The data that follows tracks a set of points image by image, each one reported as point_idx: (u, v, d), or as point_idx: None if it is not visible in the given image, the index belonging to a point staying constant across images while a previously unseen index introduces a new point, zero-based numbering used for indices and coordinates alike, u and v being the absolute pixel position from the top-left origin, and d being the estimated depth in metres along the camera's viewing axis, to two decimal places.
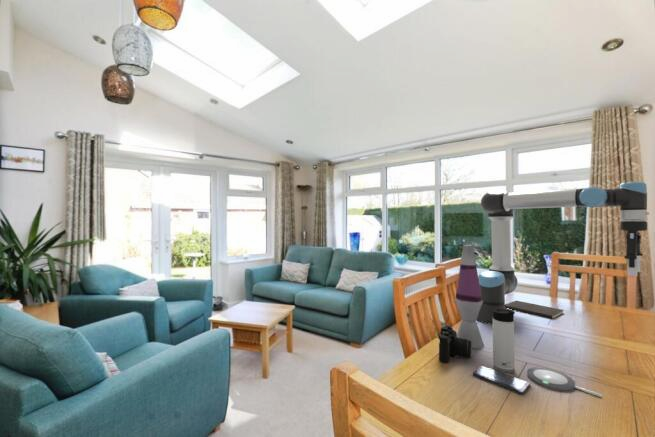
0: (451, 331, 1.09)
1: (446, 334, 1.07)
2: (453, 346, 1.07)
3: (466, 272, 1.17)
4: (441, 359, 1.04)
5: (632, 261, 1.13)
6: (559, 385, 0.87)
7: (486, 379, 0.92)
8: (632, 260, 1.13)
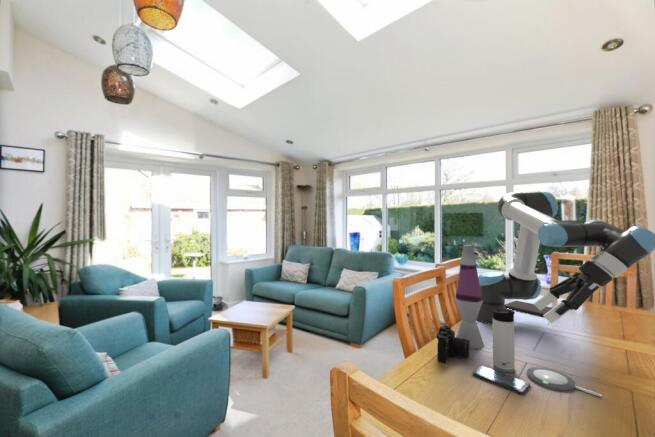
0: (449, 331, 1.09)
1: (445, 334, 1.07)
2: (451, 346, 1.07)
3: (466, 272, 1.17)
4: (439, 359, 1.04)
5: None
6: (559, 385, 0.87)
7: (486, 379, 0.92)
8: None
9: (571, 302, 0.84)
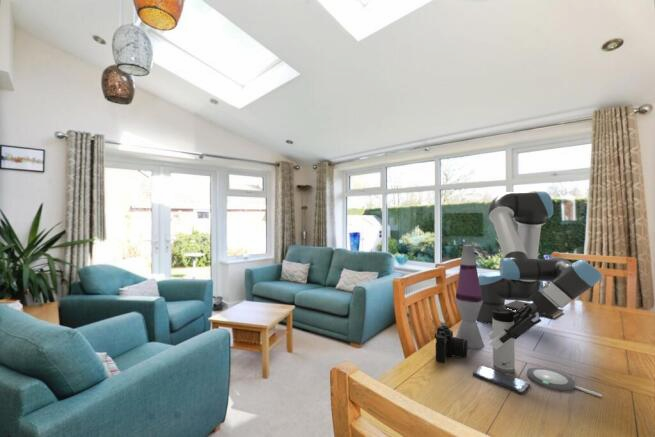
0: (447, 331, 1.09)
1: (443, 334, 1.07)
2: (449, 345, 1.07)
3: (466, 272, 1.17)
4: (438, 359, 1.04)
5: None
6: (559, 385, 0.87)
7: (486, 379, 0.92)
8: None
9: (511, 332, 0.93)
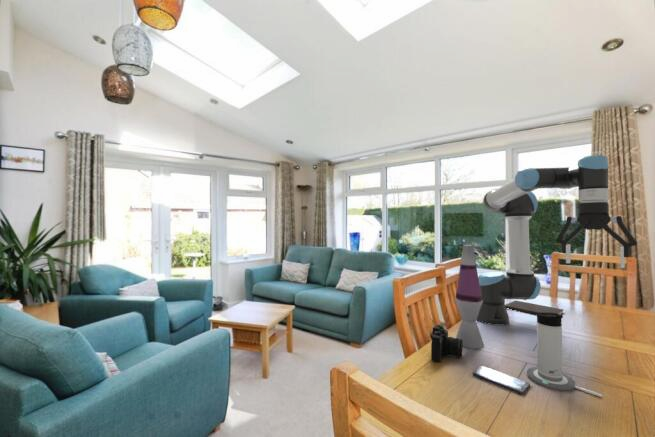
0: (443, 330, 1.09)
1: (438, 334, 1.08)
2: (445, 345, 1.07)
3: (466, 272, 1.17)
4: (433, 359, 1.04)
5: None
6: (559, 385, 0.87)
7: (486, 379, 0.92)
8: None
9: (636, 242, 0.91)
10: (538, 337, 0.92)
